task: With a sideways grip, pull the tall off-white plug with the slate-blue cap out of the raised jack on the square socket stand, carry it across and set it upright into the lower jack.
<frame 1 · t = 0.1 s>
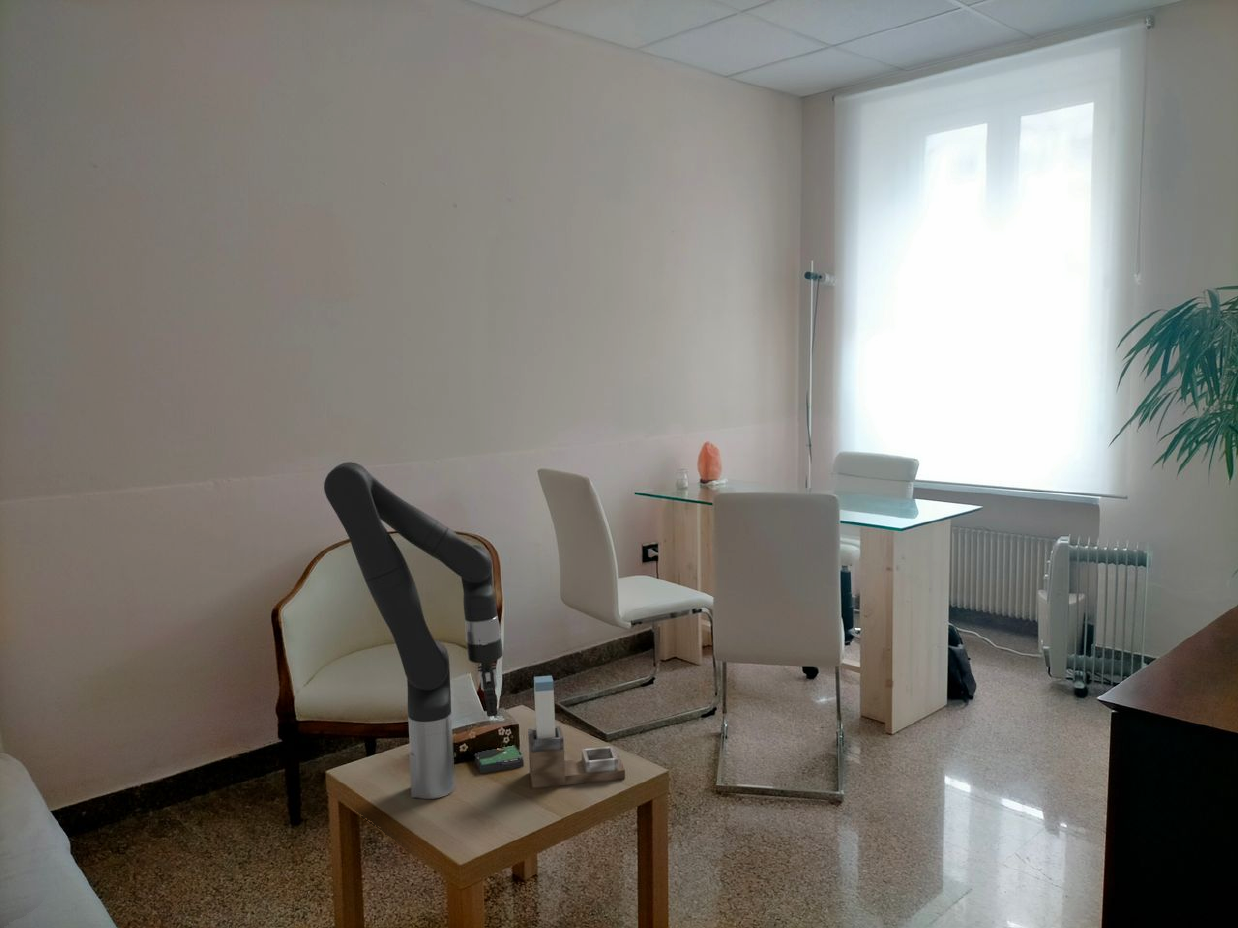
hand: (491, 708, 206), 17 cm above the table, tool pointing down, fingers open, 8 cm apart
disk drive: (495, 760, 222), on the table
square socket stand: (573, 775, 210), on the table
plug: (545, 744, 209), point 8 cm above the table, touching square socket stand
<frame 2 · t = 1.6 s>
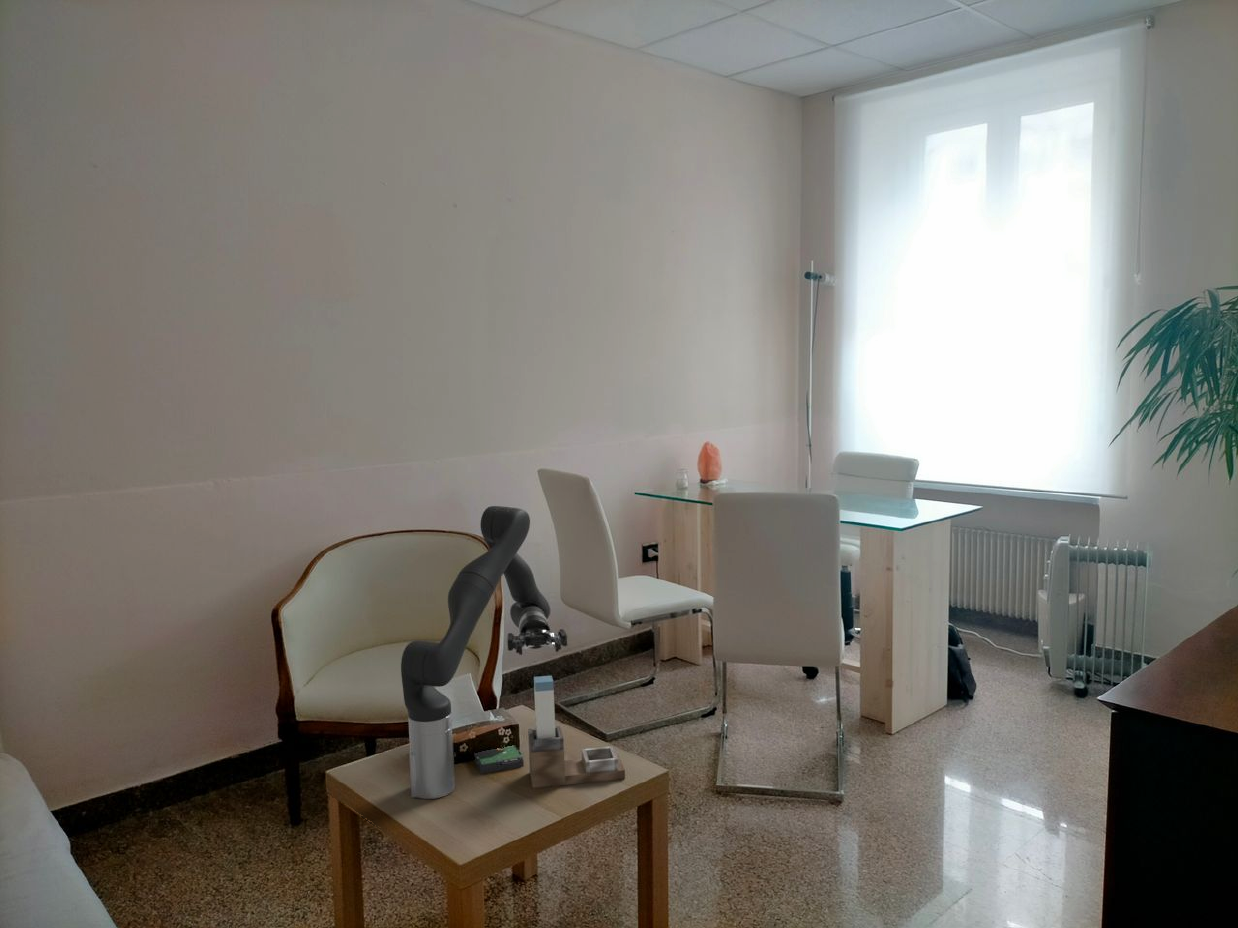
hand: (539, 649, 218), 26 cm above the table, tool horizontal, fingers open, 8 cm apart
nothing on the table moved.
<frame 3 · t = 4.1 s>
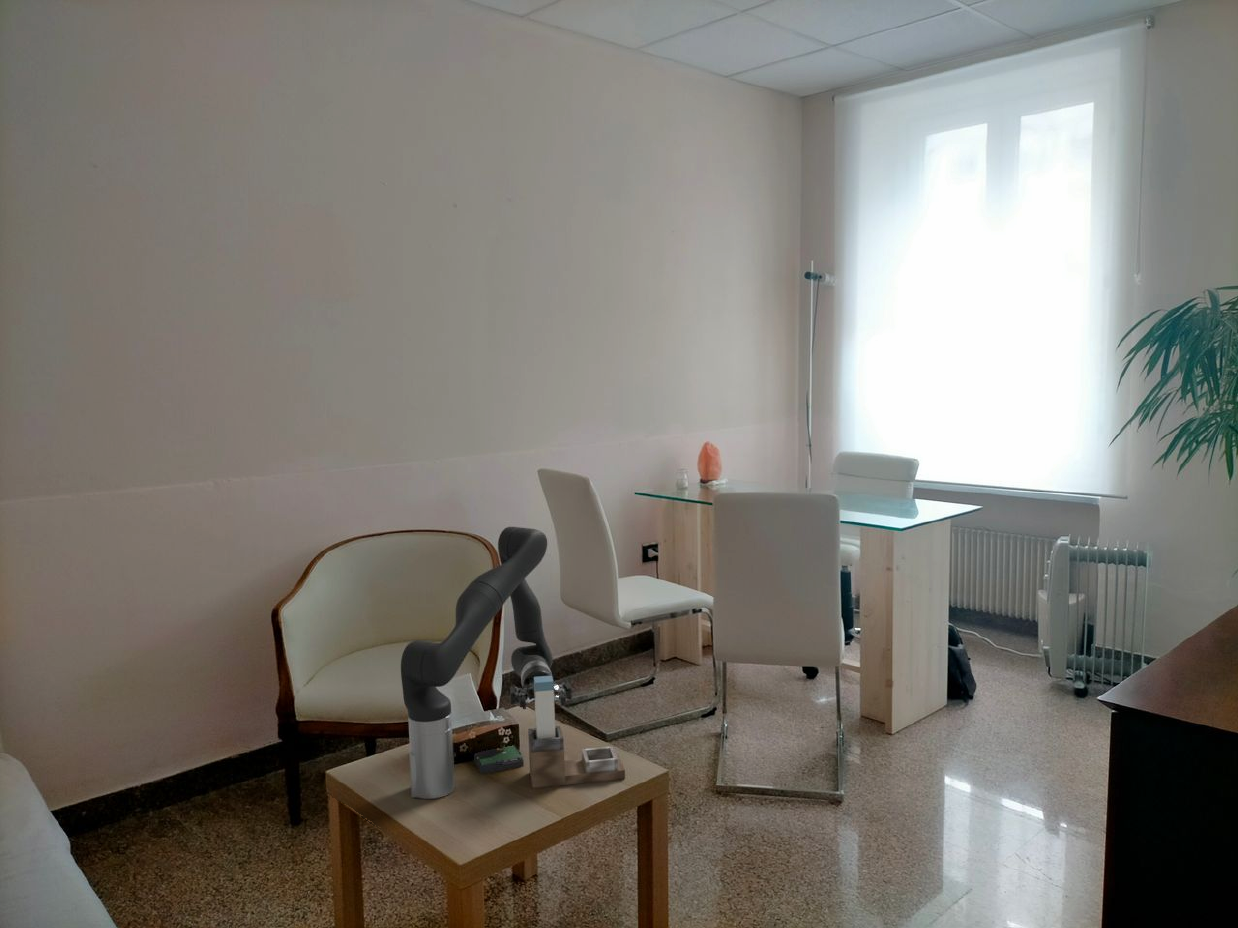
hand: (543, 703, 210), 17 cm above the table, tool horizontal, fingers open, 8 cm apart
nothing on the table moved.
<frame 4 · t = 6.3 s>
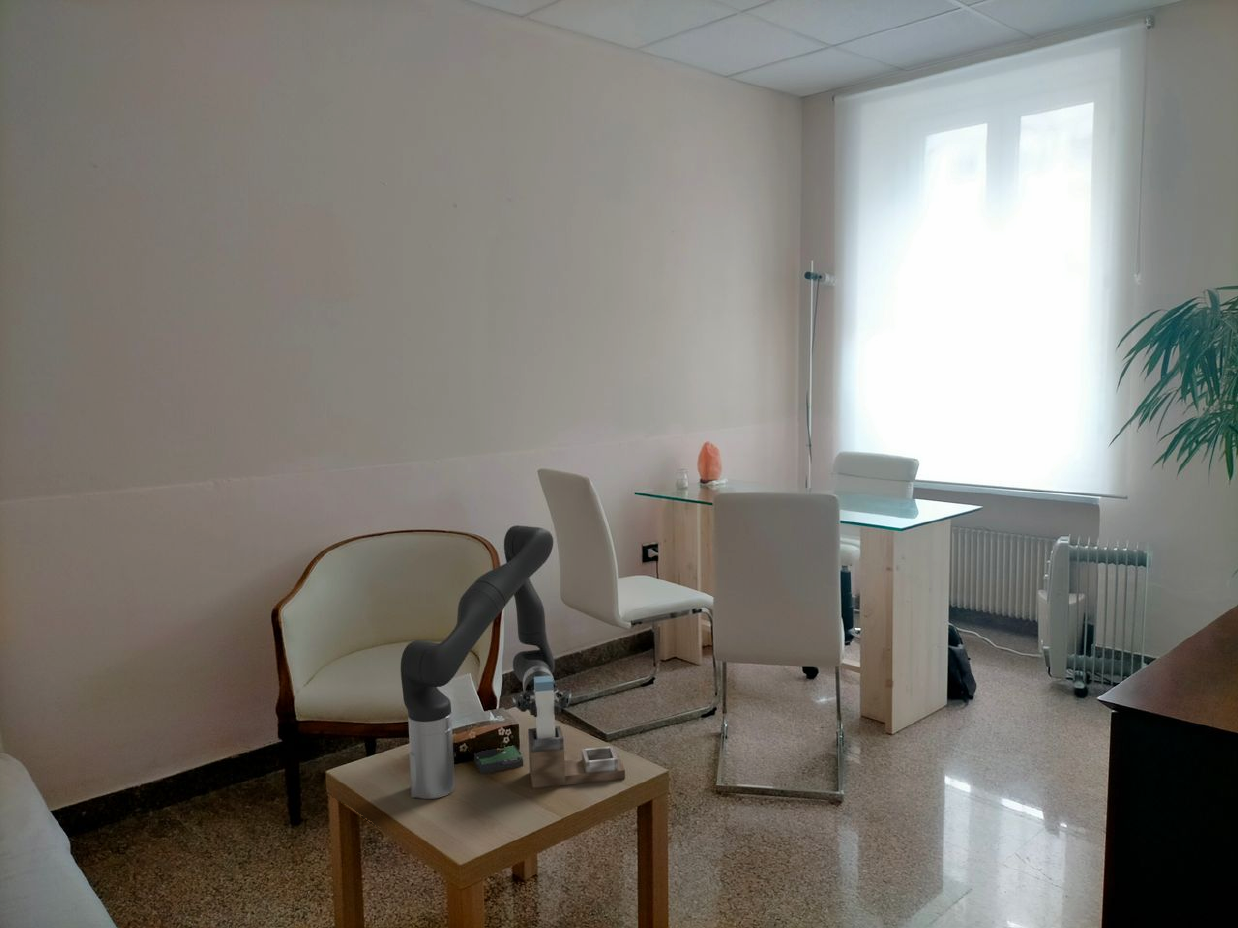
hand: (545, 711, 205), 16 cm above the table, tool horizontal, fingers closed on plug, 4 cm apart
plug: (546, 744, 209), point 8 cm above the table, touching square socket stand, gripper
everything else where it was.
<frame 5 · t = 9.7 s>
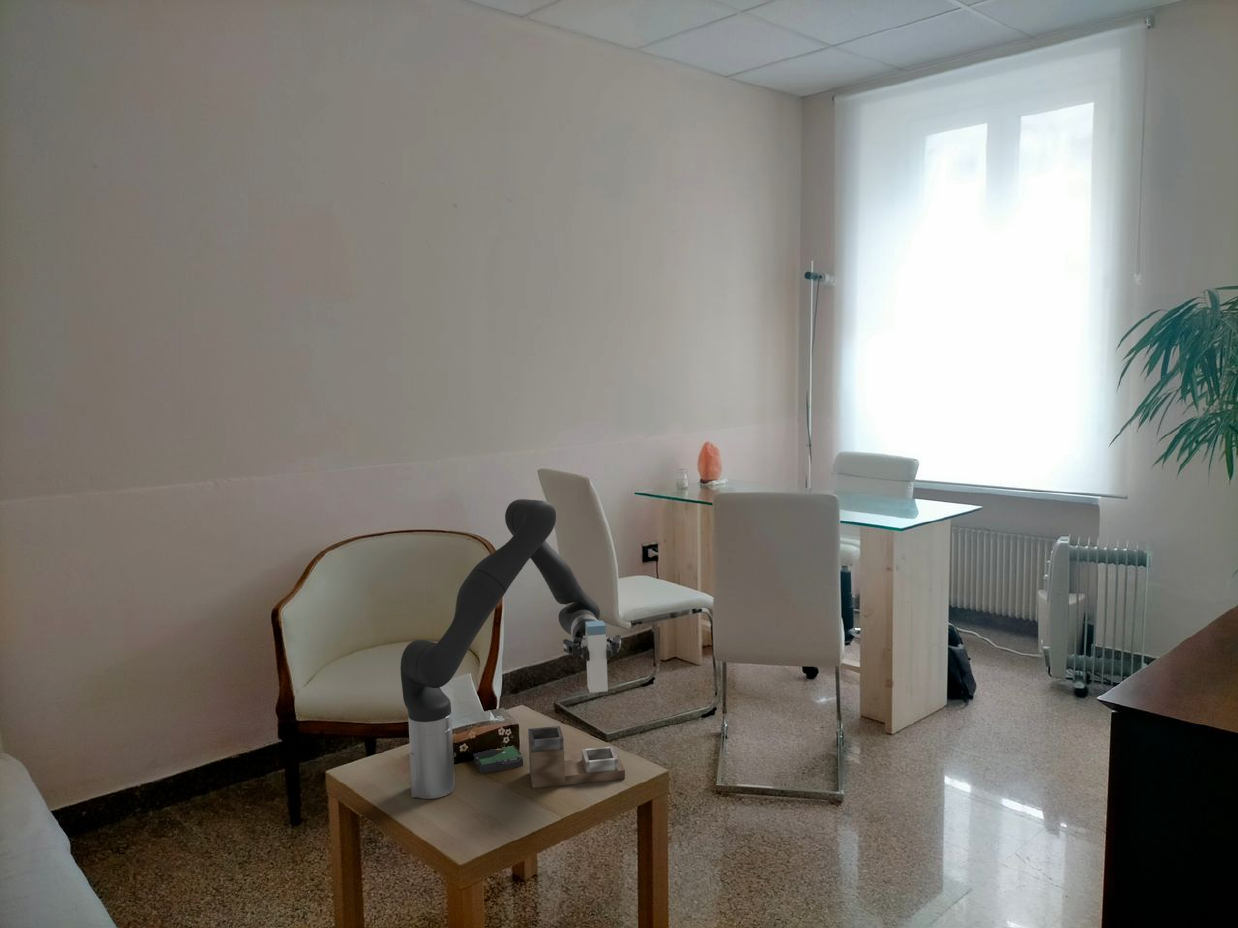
hand: (598, 655, 206), 28 cm above the table, tool horizontal, fingers closed on plug, 4 cm apart
plug: (597, 688, 209), point 20 cm above the table, touching gripper
everything else where it was.
when the fingers open (12 cm above the table, at t = 13.2 s): plug drops 1 cm, resting on square socket stand.
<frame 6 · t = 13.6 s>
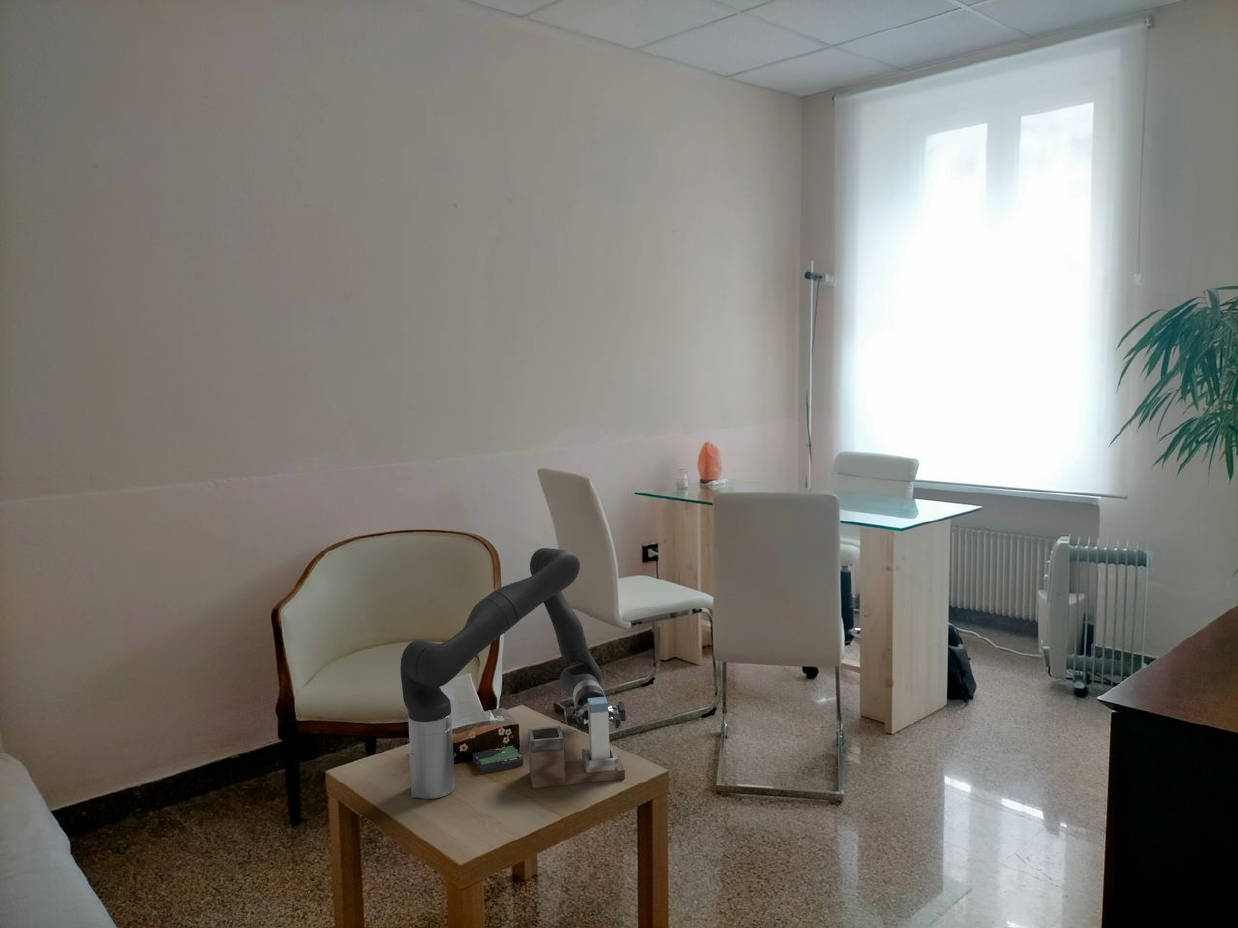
hand: (600, 725, 208), 12 cm above the table, tool horizontal, fingers open, 7 cm apart
plug: (599, 764, 211), point 2 cm above the table, touching square socket stand
everything else where it was.
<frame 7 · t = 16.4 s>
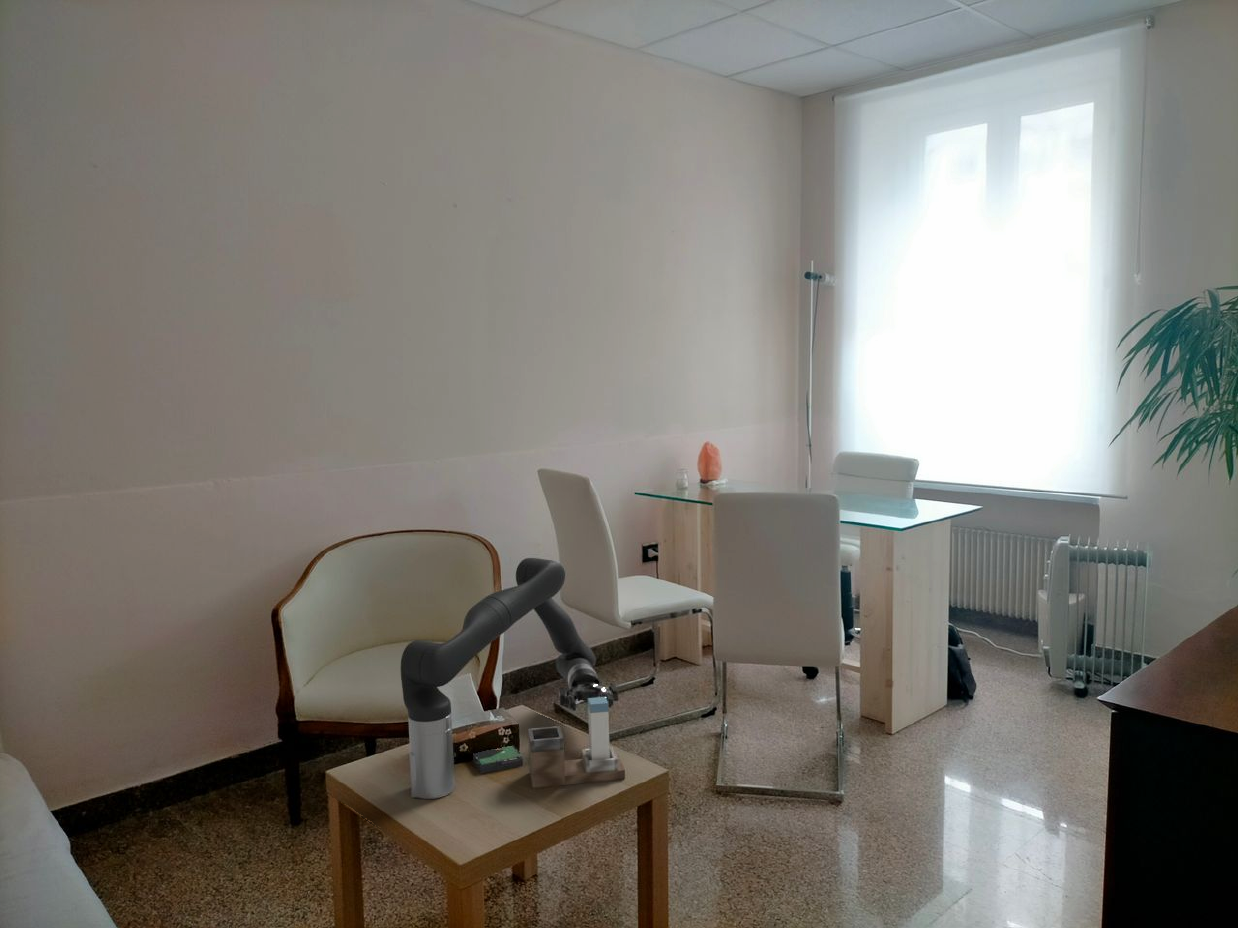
hand: (592, 705, 221), 12 cm above the table, tool horizontal, fingers open, 8 cm apart
nothing on the table moved.
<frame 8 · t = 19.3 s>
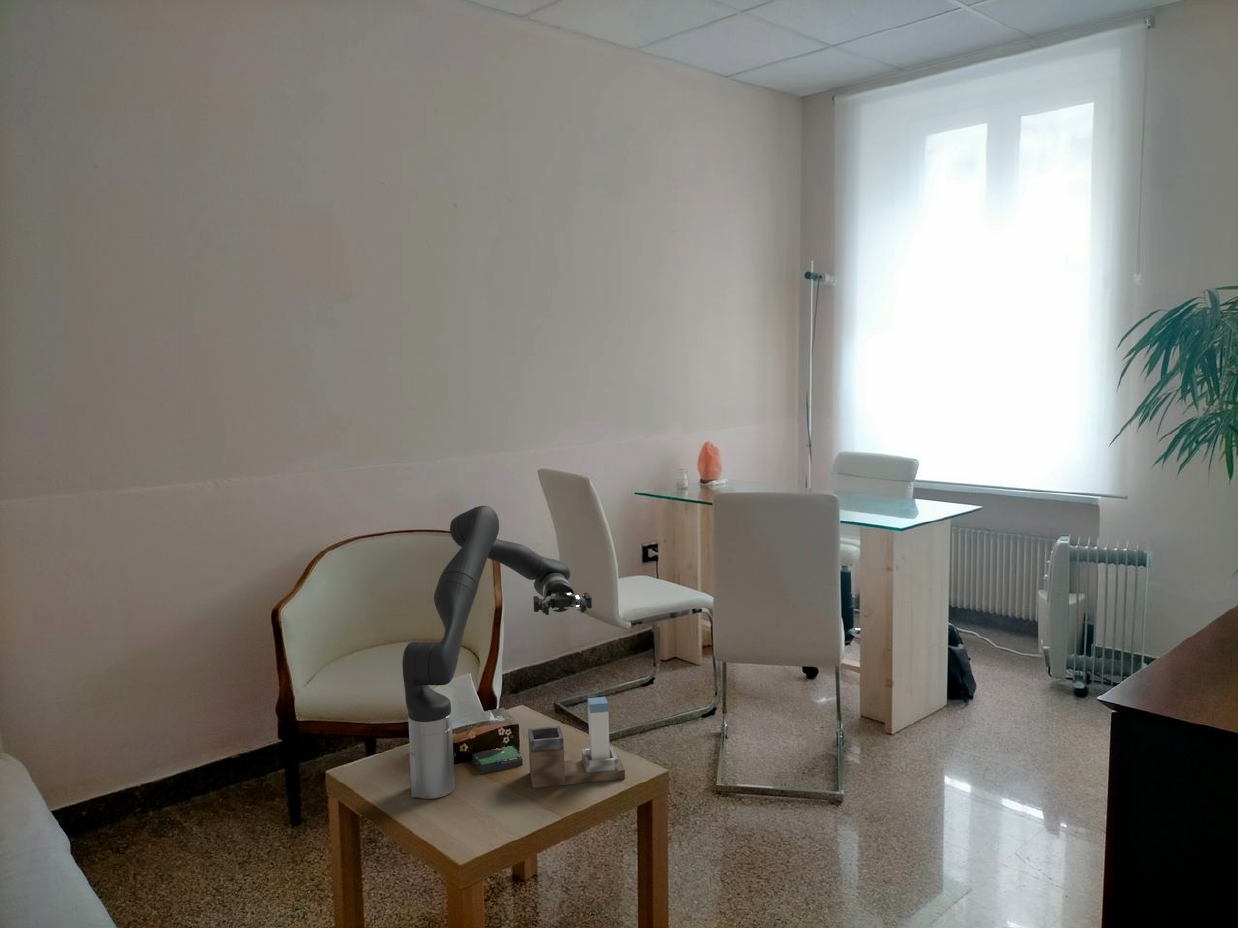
hand: (565, 609, 223), 34 cm above the table, tool horizontal, fingers open, 8 cm apart
nothing on the table moved.
at the end: plug 0.0 cm from the target spot, point 2.0 cm above the table; plug tilted 0°; the gripper is holding nothing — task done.
